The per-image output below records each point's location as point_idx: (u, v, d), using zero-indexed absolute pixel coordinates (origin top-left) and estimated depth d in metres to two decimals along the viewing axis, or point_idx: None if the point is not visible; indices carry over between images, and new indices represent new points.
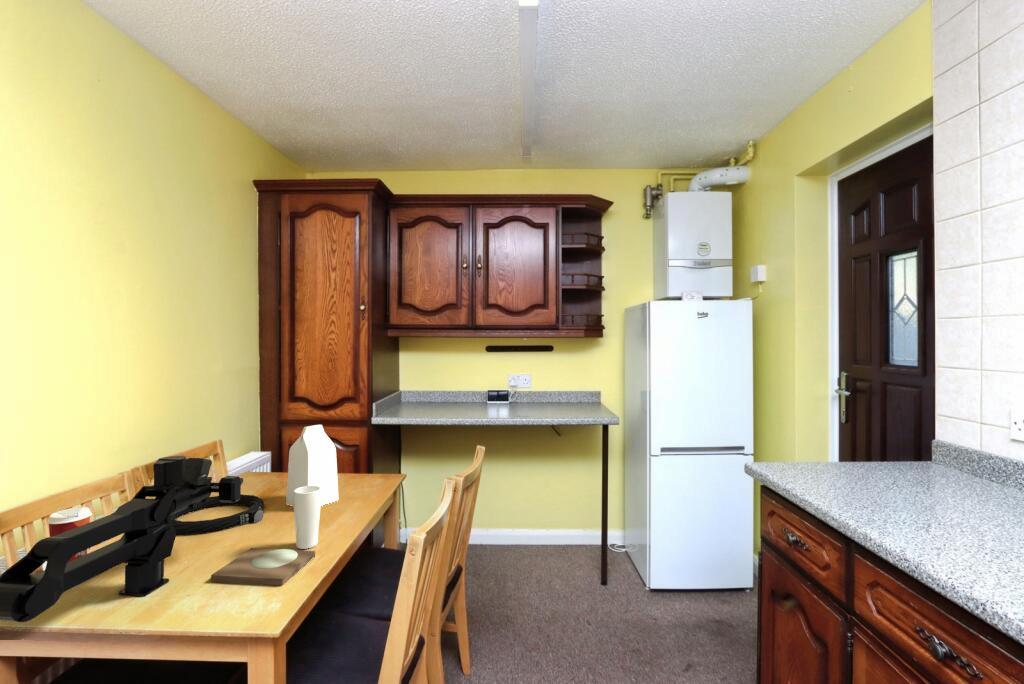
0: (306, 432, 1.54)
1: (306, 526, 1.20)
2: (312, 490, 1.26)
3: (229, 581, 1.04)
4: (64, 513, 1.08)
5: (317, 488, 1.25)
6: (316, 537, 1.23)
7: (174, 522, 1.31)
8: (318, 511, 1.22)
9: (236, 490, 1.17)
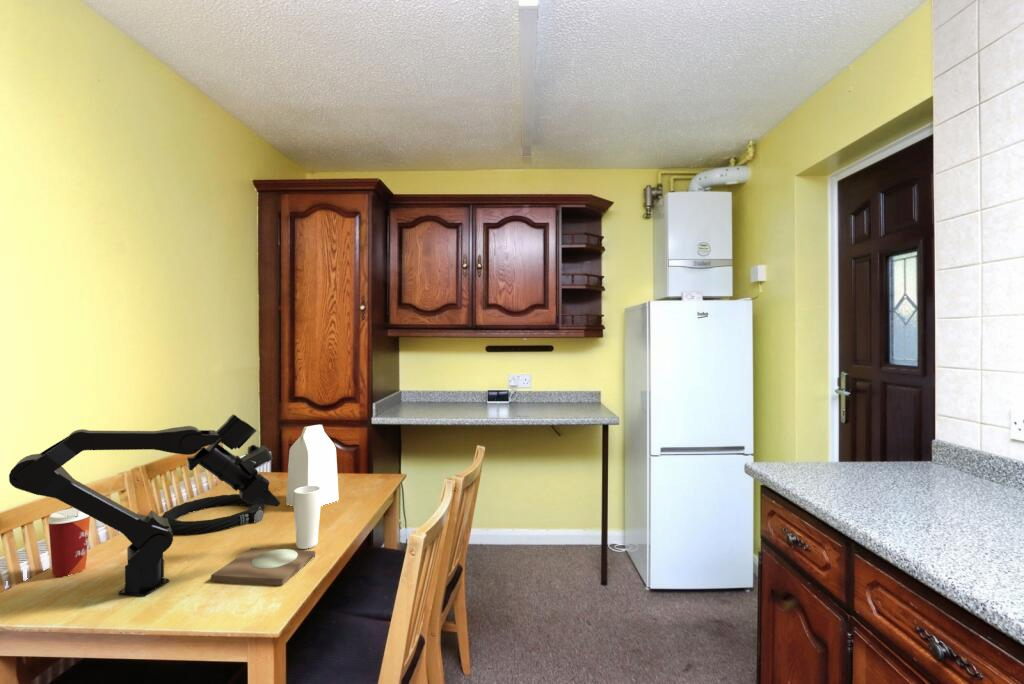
0: (306, 432, 1.54)
1: (306, 526, 1.20)
2: (312, 490, 1.26)
3: (229, 581, 1.04)
4: (64, 513, 1.08)
5: (317, 488, 1.25)
6: (316, 537, 1.23)
7: (174, 522, 1.31)
8: (318, 511, 1.22)
9: (254, 489, 1.07)
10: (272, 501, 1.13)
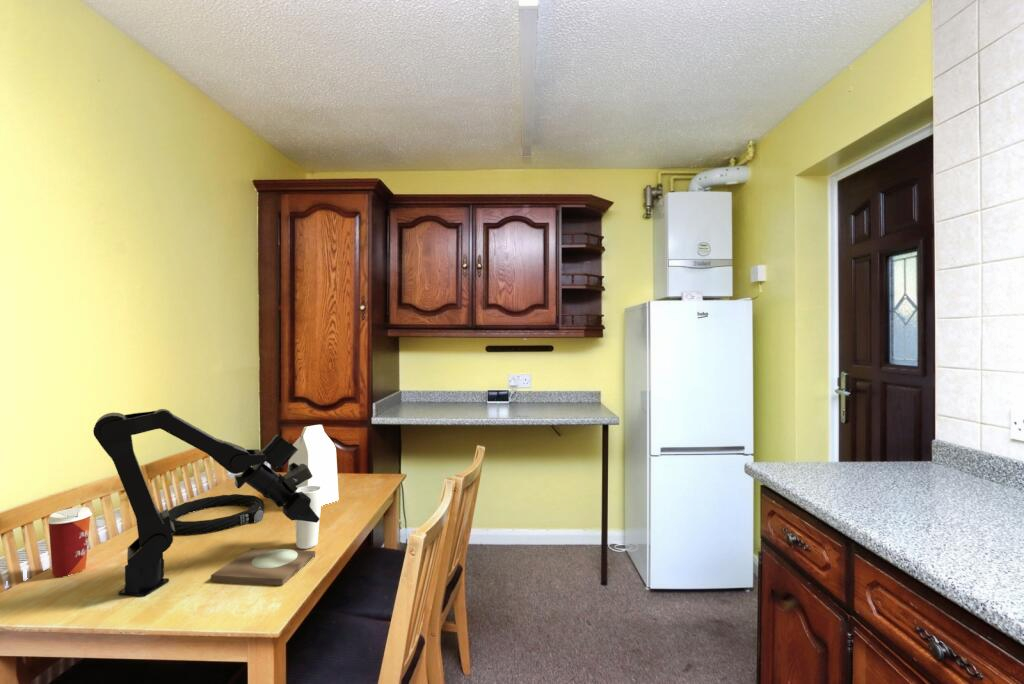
0: (306, 432, 1.54)
1: (306, 526, 1.20)
2: (312, 490, 1.26)
3: (229, 581, 1.04)
4: (64, 513, 1.08)
5: (317, 488, 1.26)
6: (316, 537, 1.23)
7: (174, 522, 1.31)
8: (318, 511, 1.23)
9: (297, 506, 1.13)
10: (312, 517, 1.19)
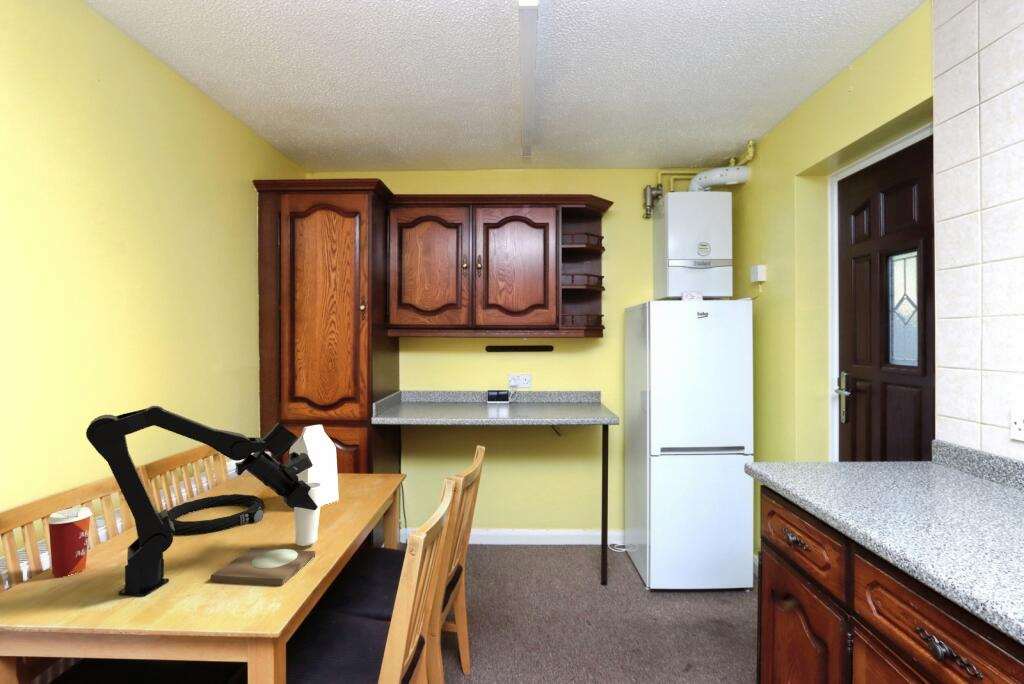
0: (306, 432, 1.54)
1: (306, 522, 1.20)
2: (312, 487, 1.26)
3: (229, 581, 1.04)
4: (64, 513, 1.08)
5: (317, 485, 1.26)
6: (316, 534, 1.23)
7: (174, 522, 1.31)
8: (318, 507, 1.23)
9: (297, 494, 1.13)
10: (311, 505, 1.20)
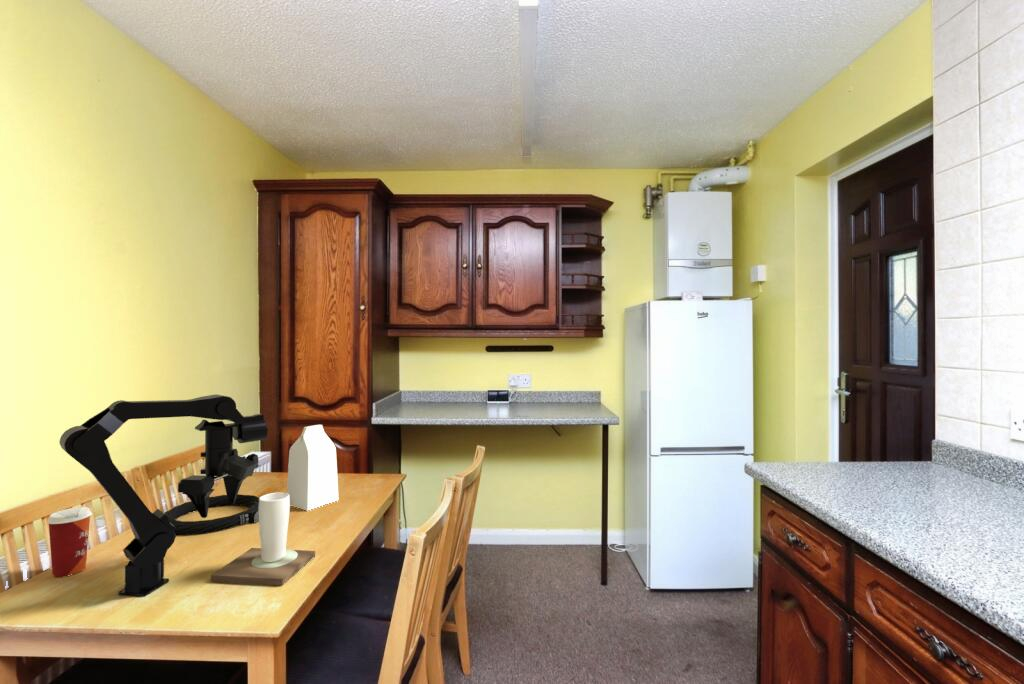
0: (306, 432, 1.54)
1: (269, 537, 1.09)
2: (283, 497, 1.15)
3: (229, 581, 1.04)
4: (64, 513, 1.08)
5: (287, 496, 1.14)
6: (282, 550, 1.11)
7: (174, 522, 1.31)
8: (284, 521, 1.11)
9: (188, 485, 1.03)
10: (201, 509, 1.07)
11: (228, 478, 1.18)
